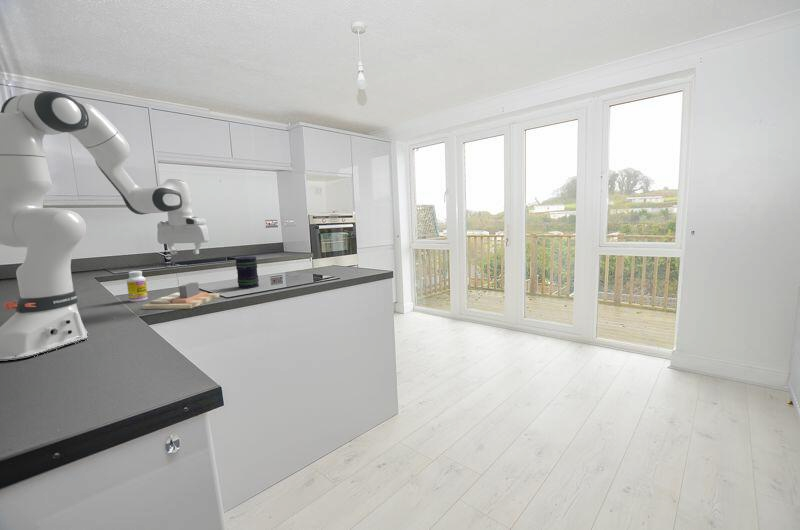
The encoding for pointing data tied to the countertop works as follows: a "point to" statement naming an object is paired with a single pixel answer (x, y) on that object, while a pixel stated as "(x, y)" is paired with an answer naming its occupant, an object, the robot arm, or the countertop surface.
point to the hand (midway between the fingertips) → (185, 254)
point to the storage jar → (247, 272)
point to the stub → (189, 293)
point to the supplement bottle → (137, 287)
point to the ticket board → (167, 303)
